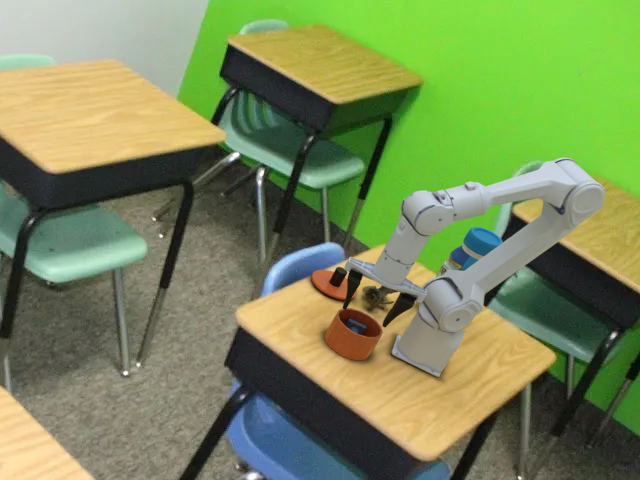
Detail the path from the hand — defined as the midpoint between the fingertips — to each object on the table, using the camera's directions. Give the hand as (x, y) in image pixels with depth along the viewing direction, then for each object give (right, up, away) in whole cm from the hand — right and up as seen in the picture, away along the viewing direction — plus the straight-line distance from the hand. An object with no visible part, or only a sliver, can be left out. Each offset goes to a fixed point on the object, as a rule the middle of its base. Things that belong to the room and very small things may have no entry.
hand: (364, 315), depth 171 cm
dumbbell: (-2, -5, +4) cm, 7 cm away
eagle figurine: (+9, +2, +20) cm, 22 cm away
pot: (-2, -6, +4) cm, 7 cm away
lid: (+1, +6, +20) cm, 21 cm away
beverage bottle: (+23, 0, +23) cm, 32 cm away
